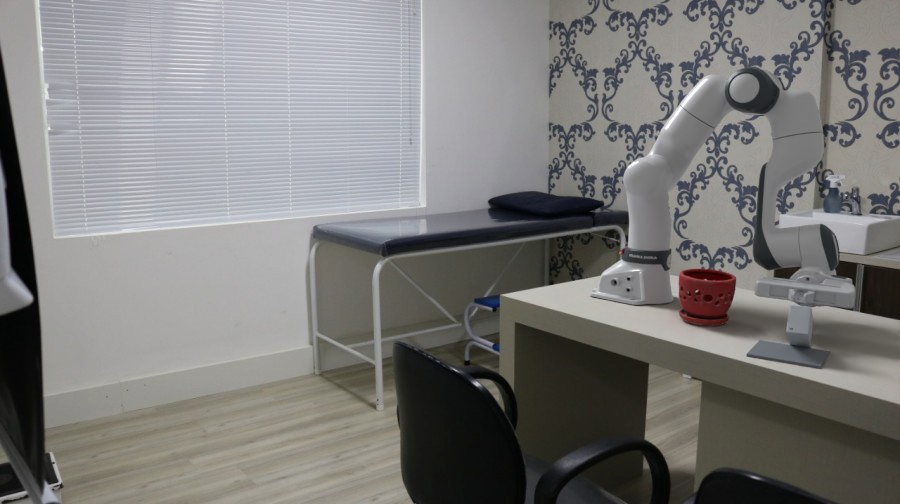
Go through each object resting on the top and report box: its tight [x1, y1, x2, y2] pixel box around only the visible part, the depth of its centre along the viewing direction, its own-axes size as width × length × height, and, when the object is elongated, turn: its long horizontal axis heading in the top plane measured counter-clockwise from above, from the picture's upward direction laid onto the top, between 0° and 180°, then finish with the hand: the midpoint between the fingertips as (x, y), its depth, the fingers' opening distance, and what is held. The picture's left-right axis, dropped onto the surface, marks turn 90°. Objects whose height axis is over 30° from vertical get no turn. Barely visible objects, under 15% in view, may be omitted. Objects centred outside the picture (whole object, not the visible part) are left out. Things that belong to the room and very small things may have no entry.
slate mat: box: [745, 339, 831, 369], centre depth 155 cm, size 14×12×1 cm
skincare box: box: [785, 304, 814, 348], centre depth 156 cm, size 6×4×12 cm
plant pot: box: [678, 268, 737, 327], centre depth 180 cm, size 13×13×12 cm
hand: (798, 298), depth 159 cm, fingers closed
